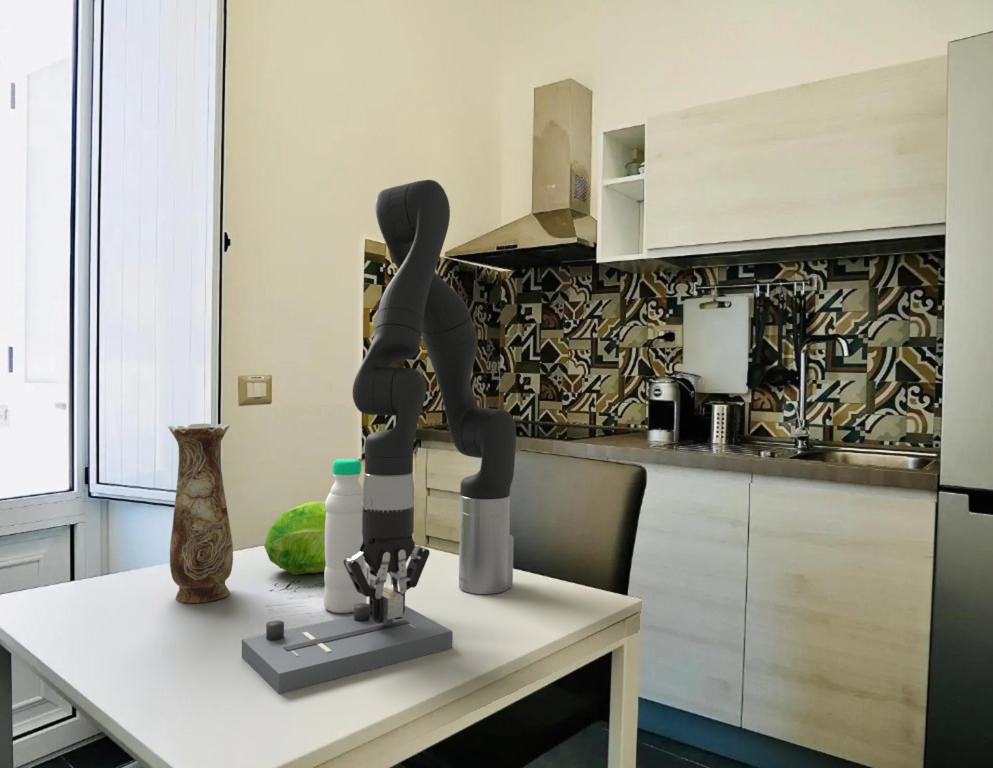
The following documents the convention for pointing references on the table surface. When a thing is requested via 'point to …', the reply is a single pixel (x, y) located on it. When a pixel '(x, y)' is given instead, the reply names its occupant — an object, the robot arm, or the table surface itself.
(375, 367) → the robot arm
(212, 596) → the vase
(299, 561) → the lettuce
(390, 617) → the fader
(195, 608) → the table surface
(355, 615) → the console
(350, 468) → the water bottle
